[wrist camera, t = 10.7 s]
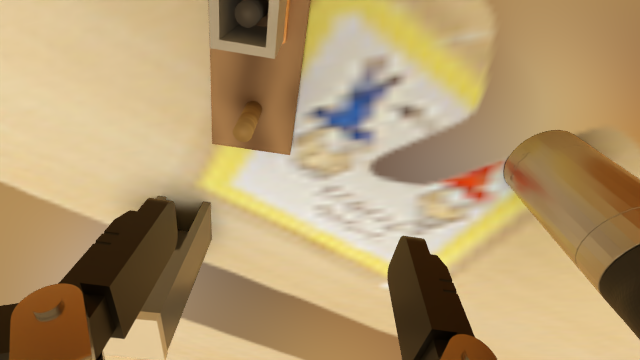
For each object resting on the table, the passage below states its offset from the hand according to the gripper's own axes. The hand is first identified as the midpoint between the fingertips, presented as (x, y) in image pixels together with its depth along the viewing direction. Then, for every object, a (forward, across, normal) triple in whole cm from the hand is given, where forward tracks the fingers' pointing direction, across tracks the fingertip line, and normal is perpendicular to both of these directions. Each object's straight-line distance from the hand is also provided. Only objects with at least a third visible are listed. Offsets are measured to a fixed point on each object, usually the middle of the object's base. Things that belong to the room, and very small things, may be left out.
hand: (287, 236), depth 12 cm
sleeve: (+24, +6, -4) cm, 26 cm away
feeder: (+27, +15, +24) cm, 39 cm away
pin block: (+27, +6, 0) cm, 27 cm away
